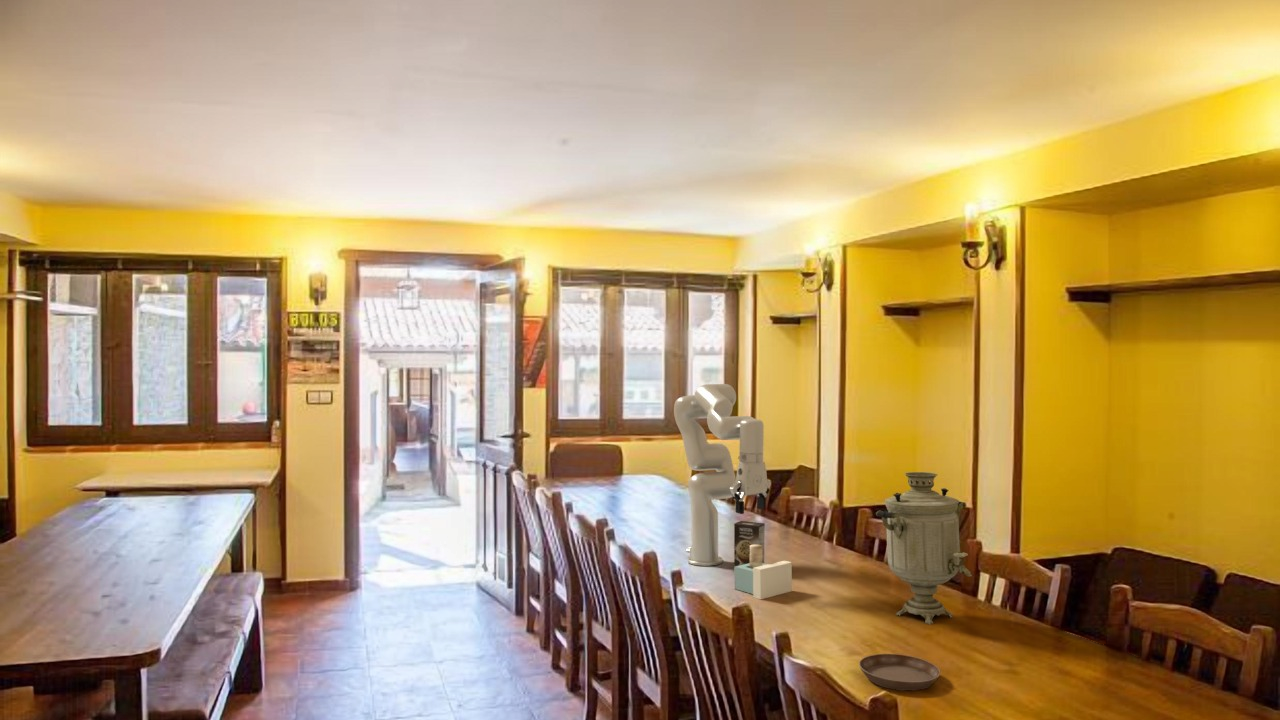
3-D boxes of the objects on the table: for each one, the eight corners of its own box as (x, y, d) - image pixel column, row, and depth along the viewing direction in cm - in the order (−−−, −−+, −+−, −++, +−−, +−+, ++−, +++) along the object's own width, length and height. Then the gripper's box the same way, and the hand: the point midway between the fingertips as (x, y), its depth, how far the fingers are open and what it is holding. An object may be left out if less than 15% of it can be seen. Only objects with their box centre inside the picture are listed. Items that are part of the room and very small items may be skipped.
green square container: (734, 588, 273) (734, 566, 272) (756, 583, 279) (756, 561, 279) (757, 595, 265) (757, 572, 265) (780, 589, 271) (780, 567, 271)
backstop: (753, 597, 263) (753, 567, 263) (784, 589, 272) (784, 560, 272) (760, 599, 261) (760, 569, 261) (791, 591, 270) (791, 562, 270)
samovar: (907, 638, 225) (907, 484, 224) (856, 609, 250) (855, 471, 250) (1005, 628, 233) (1005, 479, 232) (946, 601, 258) (945, 467, 258)
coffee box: (733, 570, 296) (733, 523, 296) (740, 566, 302) (740, 520, 301) (758, 573, 292) (758, 525, 291) (765, 569, 297) (765, 522, 297)
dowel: (746, 577, 272) (747, 545, 272) (755, 575, 275) (756, 544, 275) (756, 580, 269) (756, 547, 269) (765, 578, 272) (765, 546, 272)
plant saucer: (923, 665, 206) (923, 652, 206) (952, 694, 189) (952, 680, 189) (850, 666, 206) (849, 653, 206) (872, 695, 188) (872, 681, 188)
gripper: (740, 462, 268) (739, 517, 269) (778, 457, 278) (777, 509, 279) (723, 459, 274) (722, 512, 274) (761, 454, 284) (761, 505, 285)
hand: (750, 511), depth 277 cm, fingers open, 9 cm apart
